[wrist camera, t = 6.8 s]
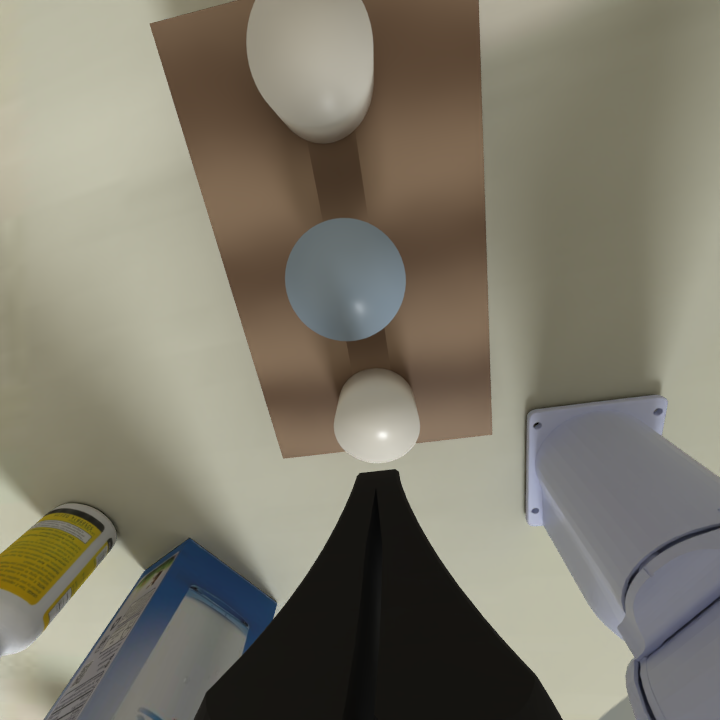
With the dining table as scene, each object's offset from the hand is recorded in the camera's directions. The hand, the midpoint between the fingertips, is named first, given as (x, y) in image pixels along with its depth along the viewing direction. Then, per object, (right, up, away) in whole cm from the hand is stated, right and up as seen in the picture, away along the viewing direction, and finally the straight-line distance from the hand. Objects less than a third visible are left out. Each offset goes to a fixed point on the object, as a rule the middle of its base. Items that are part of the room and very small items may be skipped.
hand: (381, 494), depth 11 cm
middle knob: (-1, +9, +4) cm, 10 cm away
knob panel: (-1, +10, +7) cm, 12 cm away
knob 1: (-2, +16, +3) cm, 16 cm away
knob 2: (0, +3, +8) cm, 9 cm away
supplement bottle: (-23, -9, +15) cm, 29 cm away
